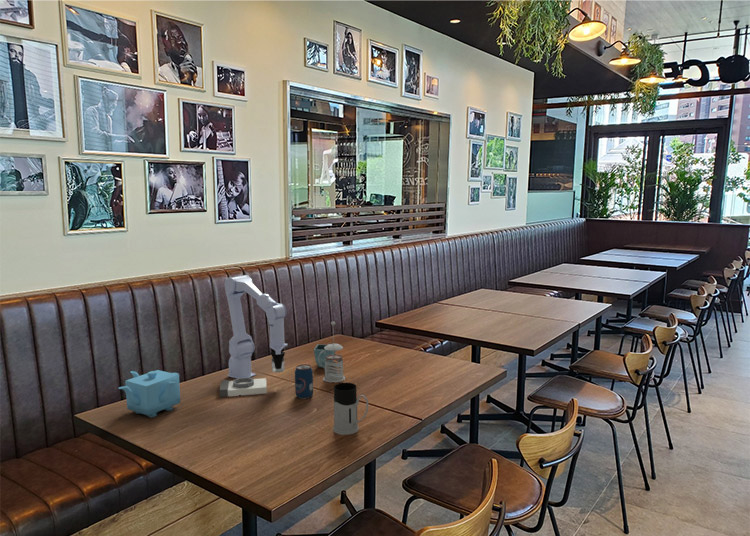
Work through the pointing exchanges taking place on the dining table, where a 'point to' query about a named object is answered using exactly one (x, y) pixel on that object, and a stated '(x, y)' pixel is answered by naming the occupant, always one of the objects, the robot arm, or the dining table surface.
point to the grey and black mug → (346, 408)
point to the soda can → (303, 381)
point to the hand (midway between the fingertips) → (278, 366)
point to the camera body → (243, 387)
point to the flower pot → (322, 354)
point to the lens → (277, 369)
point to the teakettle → (152, 392)
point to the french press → (333, 374)
